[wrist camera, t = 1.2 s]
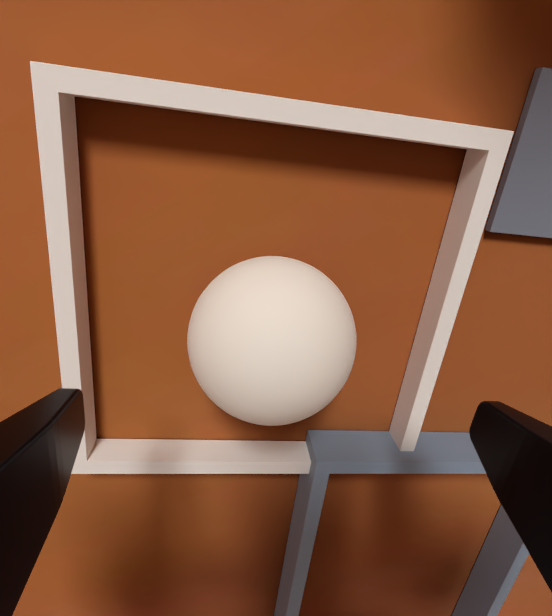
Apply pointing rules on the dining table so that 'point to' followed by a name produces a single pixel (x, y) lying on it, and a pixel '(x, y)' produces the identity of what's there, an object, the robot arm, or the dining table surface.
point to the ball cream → (271, 340)
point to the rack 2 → (390, 460)
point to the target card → (528, 168)
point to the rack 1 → (228, 103)
